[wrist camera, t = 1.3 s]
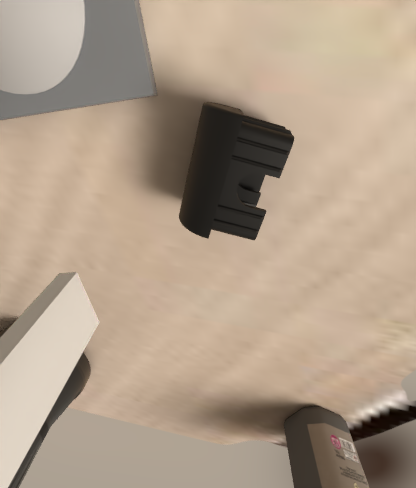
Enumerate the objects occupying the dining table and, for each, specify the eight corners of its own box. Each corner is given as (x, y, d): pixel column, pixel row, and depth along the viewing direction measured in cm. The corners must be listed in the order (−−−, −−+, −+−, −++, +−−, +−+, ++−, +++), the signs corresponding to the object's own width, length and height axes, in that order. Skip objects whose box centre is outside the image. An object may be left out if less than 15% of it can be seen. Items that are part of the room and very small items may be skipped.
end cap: (206, 99, 24) (199, 102, 18) (283, 121, 24) (300, 131, 19) (184, 202, 29) (173, 231, 23) (247, 218, 29) (252, 251, 23)
